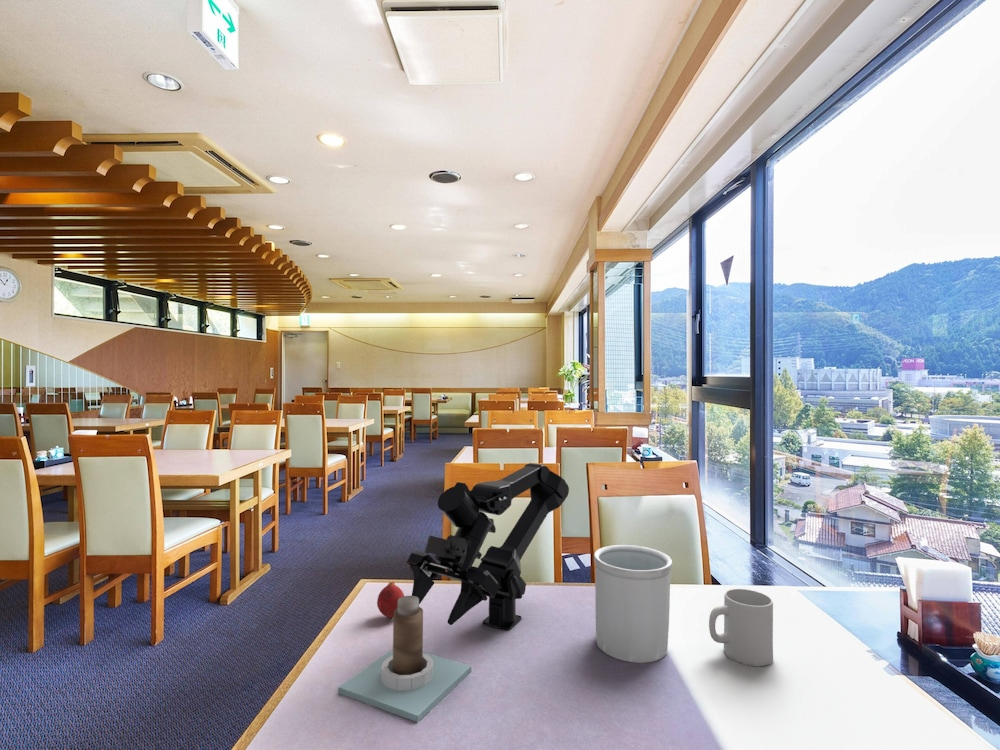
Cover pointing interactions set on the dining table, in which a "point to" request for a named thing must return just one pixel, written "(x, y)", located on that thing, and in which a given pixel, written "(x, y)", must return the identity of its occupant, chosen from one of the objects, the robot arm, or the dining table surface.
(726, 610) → the mug
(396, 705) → the board
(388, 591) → the onion
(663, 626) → the utensil holder
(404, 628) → the pepper mill
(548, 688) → the dining table surface
